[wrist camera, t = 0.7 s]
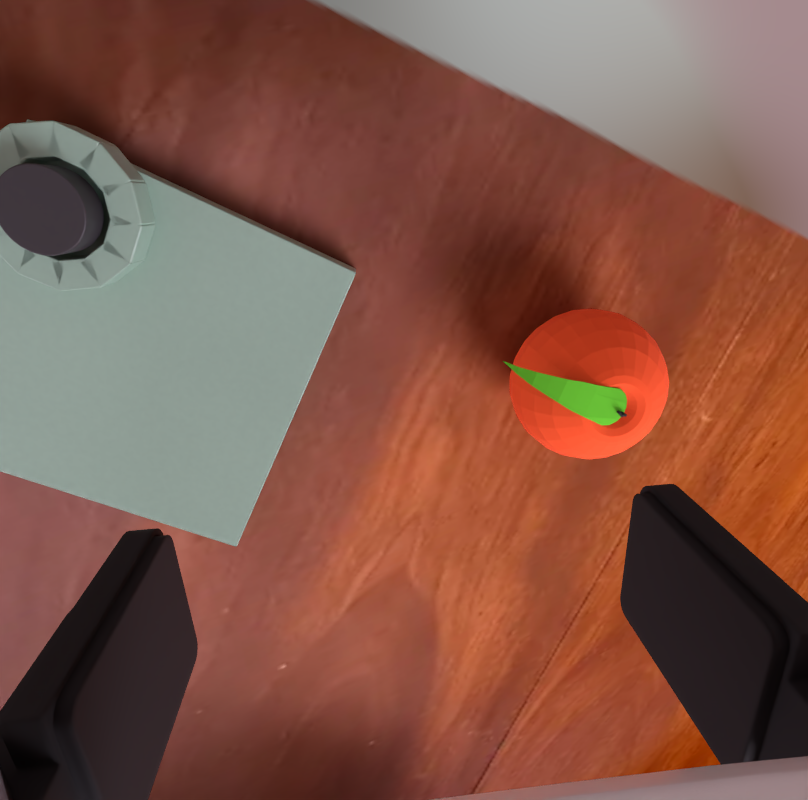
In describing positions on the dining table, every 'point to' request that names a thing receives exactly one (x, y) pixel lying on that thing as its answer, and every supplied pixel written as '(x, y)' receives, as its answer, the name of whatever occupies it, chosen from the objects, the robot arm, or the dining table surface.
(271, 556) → the dining table surface
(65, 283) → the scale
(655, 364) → the clementine
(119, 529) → the dining table surface
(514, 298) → the dining table surface
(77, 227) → the tare button
